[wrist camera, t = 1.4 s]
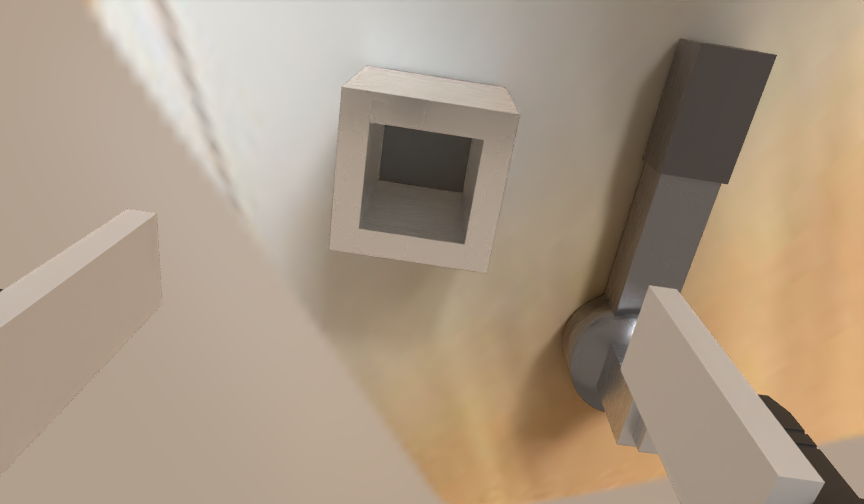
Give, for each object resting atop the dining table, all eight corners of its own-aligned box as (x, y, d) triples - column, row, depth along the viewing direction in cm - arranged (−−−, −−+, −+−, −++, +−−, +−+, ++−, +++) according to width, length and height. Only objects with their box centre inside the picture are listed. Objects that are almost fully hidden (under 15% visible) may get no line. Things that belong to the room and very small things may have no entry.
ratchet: (649, 33, 27) (726, 49, 19) (779, 54, 27) (907, 78, 20) (551, 374, 36) (578, 480, 28) (651, 389, 36) (705, 498, 28)
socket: (367, 65, 28) (341, 86, 22) (505, 87, 28) (520, 114, 22) (354, 197, 31) (329, 249, 25) (480, 216, 31) (486, 273, 25)
